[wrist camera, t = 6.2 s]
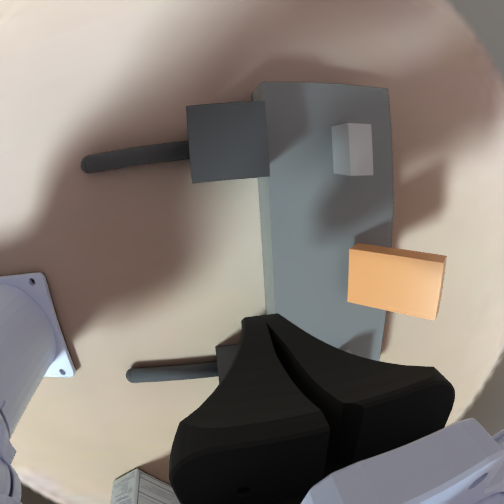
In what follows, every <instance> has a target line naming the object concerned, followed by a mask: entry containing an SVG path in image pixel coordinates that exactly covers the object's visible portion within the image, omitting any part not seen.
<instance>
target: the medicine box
mask: <svg viewBox="0 0 504 504" xmlns="http://www.w3.org/2000/svg"><path fill="white" fill-rule="evenodd" d="M111 504H180V502H179V500H178V498H177V497H176V495H175V493H174V491H173V489H172V487H171V485H169V484H166V483H164V482H162V481H160V480H158V479H156V478H154V477H152V476H150V475H148V474H146V473H145V472H143V471H141V470H139V469H135V470H133V471H131V472H129V473H128V474H126V475H124V476H122V477H120V478H118V479H117V480H115V481H114V482H113V488H112V496H111Z"/></svg>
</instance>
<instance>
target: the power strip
mask: <svg viewBox="0 0 504 504" xmlns="http://www.w3.org/2000/svg"><path fill="white" fill-rule="evenodd" d="M252 101H265V108H266V122H267V136H268V151H269V166H270V177H258V188H259V203H260V219H261V235H262V251H263V268H264V285H265V302H266V315H268V314H275V313H278V314H280V315H281V316H283V317H284V318H286V319H287V320H289V321H290V322H292V323H293V324H295V325H296V326H298V327H299V328H301V329H302V330H304V331H305V332H307V333H309V334H310V335H312V336H314V337H316V338H317V339H319V340H321V341H323V342H325V343H327V344H329V345H331V346H333V347H336V348H338V349H341V350H343V351H346V352H348V353H351V354H354V355H357V356H360V357H364V358H368V359H371V360H375V361H379V359H380V352H381V346H382V339H383V331H384V324H385V316H386V310H382V309H378V308H373V307H368V306H364V305H359V304H355V303H350V302H347V298H348V275H349V249H350V248H351V247H353V246H354V245H356V244H357V243H361V244H368V245H375V246H382V247H390V248H391V245H392V219H393V163H392V138H391V121H390V108H389V97H388V89H385V88H377V87H367V86H357V85H345V84H331V83H310V82H261V83H260V84H259V86H258V87H257V88H256V89H255V91H254V92H253V93H252Z"/></svg>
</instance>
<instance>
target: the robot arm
mask: <svg viewBox="0 0 504 504" xmlns="http://www.w3.org/2000/svg"><path fill="white" fill-rule="evenodd" d="M31 278H32V279H34V281H35V284H34V283H33V282H32V281H31ZM241 322H242V334H241V338H240V342H239V346H238V349H237V351H236V354H235V357H234V359H233V361H232V363H231V366H230V367H229V369H228V371H227V373H226V375H225V376H224V378H223V379H222V381H221V382H220V384H219V385H218V387H217V388H216V389H215V391H214V392H213V393H212V394H211V395H210V396H209V397H208V398H207V399H206V401H205V402H204V403H203V404H202V405H201V406H200V407H199V408H198V409H197V410H195V411H194V412H193V413H191V414H190V415H189V416H188V417H186V418H185V419H184V420H182V421H181V422H180V423H179V426H178V429H177V432H176V435H175V438H174V441H173V445H172V450H171V455H170V466H169V479H170V483H171V487H172V489H173V491H174V493H175V495H176V497H177V498H178V500H179V502H180V504H504V429H503V430H501V431H500V432H498V433H497V434H495V435H494V436H492V437H491V435H489V433H488V432H487V431H486V430H485V429H484V428H483V427H482V426H481V425H480V424H479V423H478V422H477V421H476V420H475V419H474V418H470V419H466V420H462V421H459V422H455V423H453V424H451V425H449V426H447V427H445V424H446V422H447V420H448V417H449V415H450V412H451V410H452V407H453V403H454V399H455V390H454V388H453V386H452V384H451V383H450V382H449V381H448V380H447V379H446V378H445V377H444V376H443V375H442V374H441V373H440V372H439V371H438V370H436V369H435V368H434V367H424V366H406V365H398V364H391V363H385V362H380V361H375V360H371V359H368V358H364V357H360V356H357V355H354V354H351V353H348V352H346V351H343V350H341V349H338V348H336V347H333V346H331V345H329V344H327V343H325V342H323V341H321V340H319V339H317V338H316V337H314V336H312V335H310V334H309V333H307V332H305V331H304V330H302V329H301V328H299V327H298V326H296V325H295V324H293V323H292V322H290V321H289V320H287V319H286V318H284V317H283V316H281V315H280V314H278V313H275V314H268V315H261V316H253V317H246V318H244V319H243V320H242V321H241ZM62 369H63V370H64V371H65V372H64V371H62ZM75 372H76V371H75V367H74V365H73V362H72V360H71V357H70V354H69V352H68V349H67V346H66V343H65V341H64V338H63V335H62V332H61V329H60V326H59V323H58V319H57V316H56V313H55V310H54V306H53V303H52V299H51V296H50V292H49V289H48V285H47V281H46V278H45V276H44V275H43V274H42V273H40V272H36V273H27V274H19V275H10V276H1V277H0V504H22V503H21V502H20V499H21V484H20V479H19V477H18V474H17V473H16V471H15V470H14V468H13V467H12V466H11V463H12V460H13V458H14V456H15V454H16V450H15V449H14V447H13V446H12V445H11V443H10V441H9V440H10V438H11V436H12V434H13V432H14V430H15V428H16V426H17V424H18V422H19V420H20V418H21V416H22V414H23V413H24V411H25V409H26V407H27V405H28V403H29V402H30V400H31V398H32V396H33V394H34V393H35V391H36V389H37V387H38V386H39V384H40V382H41V380H42V379H43V377H73V376H74V374H75ZM444 427H445V428H444Z"/></svg>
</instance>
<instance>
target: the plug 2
mask: <svg viewBox="0 0 504 504" xmlns="http://www.w3.org/2000/svg"><path fill="white" fill-rule="evenodd" d="M238 346H239V344H235V345H227V346H218V347H216V356H217V362H210V363H201V364H190V365H179V366H167V367H153V368H135V369H129V370H128V371H127V373H126V378H127V380H128V381H129V382H132V383H139V382H158V381H172V380H185V379H196V378H206V377H215V376H219V384H220V382H221V381H222V379H223V378H224V376H225V375H226V373H227V371H228V369H229V367H230V366H231V363H232V361H233V359H234V357H235V354H236V351H237V349H238Z"/></svg>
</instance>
